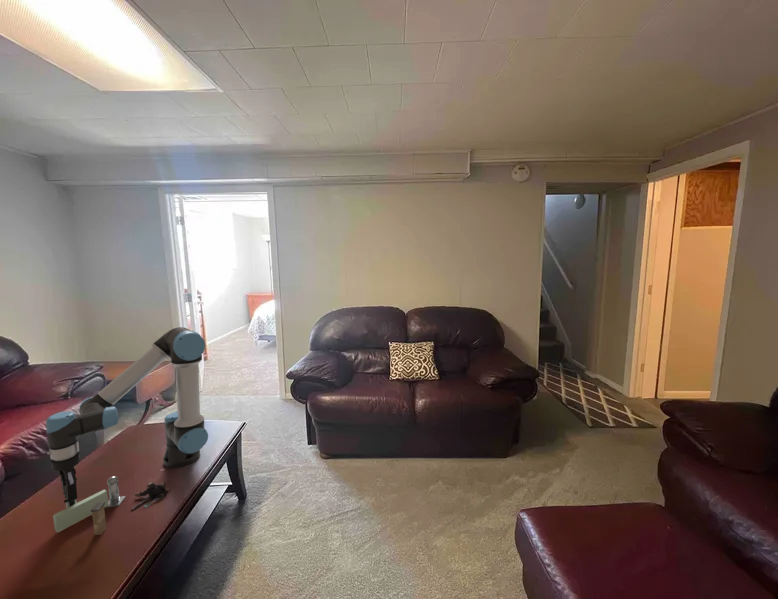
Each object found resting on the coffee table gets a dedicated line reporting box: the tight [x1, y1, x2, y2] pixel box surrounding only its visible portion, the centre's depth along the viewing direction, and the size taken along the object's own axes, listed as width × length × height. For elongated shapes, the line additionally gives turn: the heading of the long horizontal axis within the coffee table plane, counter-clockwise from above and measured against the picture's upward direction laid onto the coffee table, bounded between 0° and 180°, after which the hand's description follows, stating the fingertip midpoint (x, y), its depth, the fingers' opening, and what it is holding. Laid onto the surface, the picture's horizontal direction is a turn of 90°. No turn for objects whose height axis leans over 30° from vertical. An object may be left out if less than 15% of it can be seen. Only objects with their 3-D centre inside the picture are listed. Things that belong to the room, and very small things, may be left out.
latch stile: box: [91, 502, 107, 536], centre depth 120 cm, size 2×3×10 cm
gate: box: [52, 489, 109, 533], centre depth 126 cm, size 15×2×6 cm, turn 152°
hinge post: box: [104, 475, 126, 509], centre depth 134 cm, size 5×5×11 cm
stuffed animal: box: [130, 481, 170, 511], centre depth 138 cm, size 12×10×12 cm
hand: (72, 514), depth 126 cm, fingers closed
